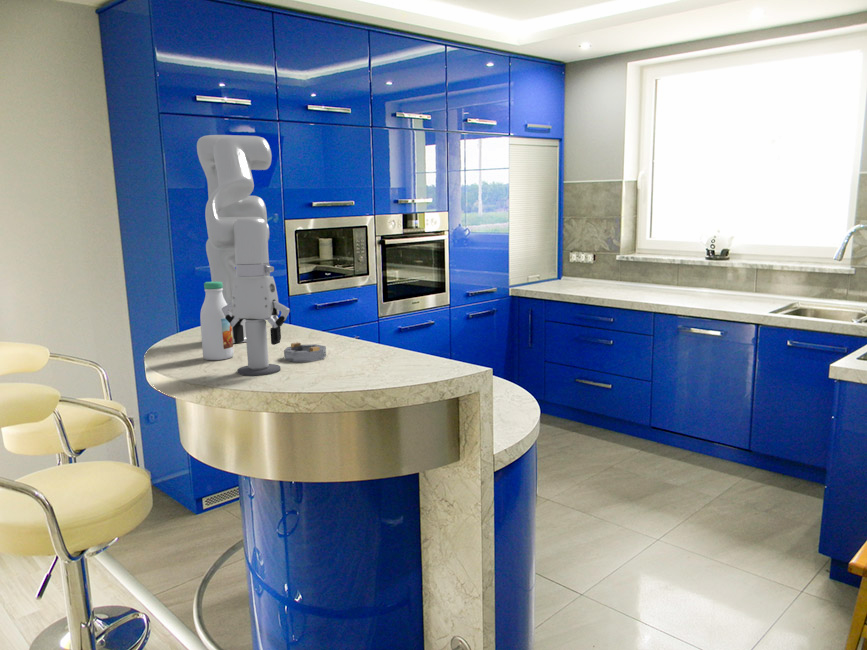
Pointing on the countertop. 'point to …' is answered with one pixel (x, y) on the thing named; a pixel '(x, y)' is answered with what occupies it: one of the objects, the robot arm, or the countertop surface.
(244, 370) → the slate coaster
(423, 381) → the countertop surface
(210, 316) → the milk bottle
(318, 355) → the ring
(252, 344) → the beverage can
